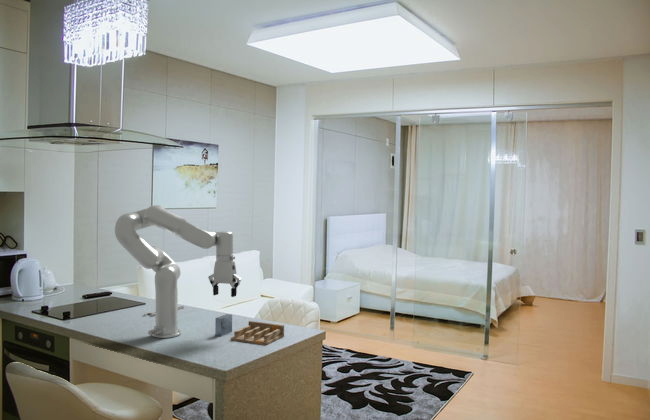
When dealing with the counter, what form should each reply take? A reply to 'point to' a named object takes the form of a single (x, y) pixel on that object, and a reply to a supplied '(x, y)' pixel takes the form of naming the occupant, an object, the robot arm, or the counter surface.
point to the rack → (259, 333)
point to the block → (223, 325)
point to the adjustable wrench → (155, 312)
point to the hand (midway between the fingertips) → (224, 295)
